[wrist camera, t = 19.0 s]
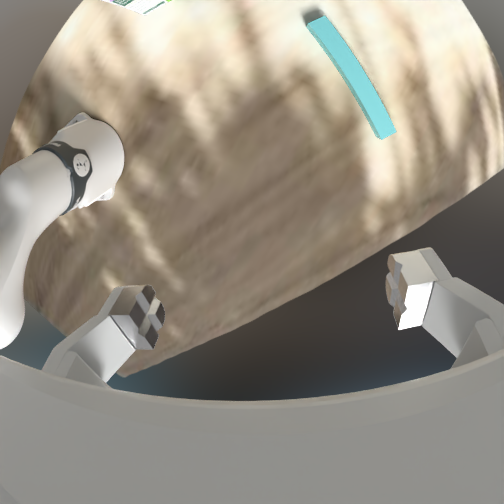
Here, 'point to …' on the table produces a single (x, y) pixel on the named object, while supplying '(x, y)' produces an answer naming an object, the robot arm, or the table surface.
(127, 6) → the syrup box
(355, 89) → the teal batten
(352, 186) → the table surface
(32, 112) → the table surface
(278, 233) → the table surface
